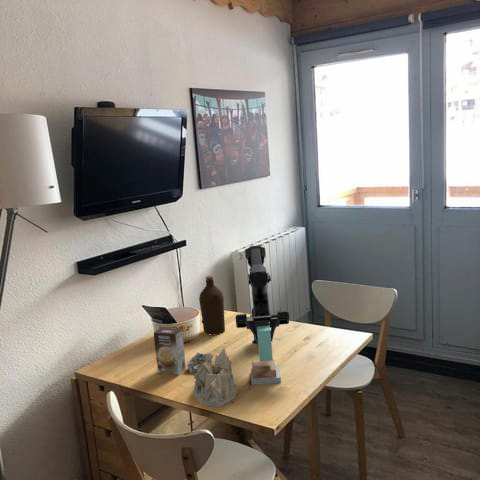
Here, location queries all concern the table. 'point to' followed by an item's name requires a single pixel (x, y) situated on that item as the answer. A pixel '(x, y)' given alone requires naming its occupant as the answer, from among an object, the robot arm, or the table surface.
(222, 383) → the grey jagged round piece
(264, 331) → the teal block
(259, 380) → the slate slab
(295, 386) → the table surface
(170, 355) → the coffee box
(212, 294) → the olive oil
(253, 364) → the walnut slab
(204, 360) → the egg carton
